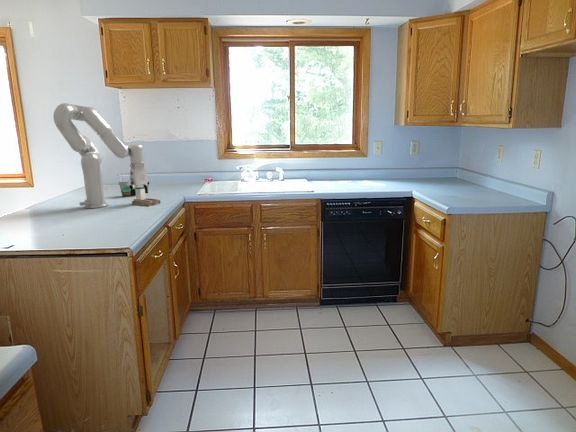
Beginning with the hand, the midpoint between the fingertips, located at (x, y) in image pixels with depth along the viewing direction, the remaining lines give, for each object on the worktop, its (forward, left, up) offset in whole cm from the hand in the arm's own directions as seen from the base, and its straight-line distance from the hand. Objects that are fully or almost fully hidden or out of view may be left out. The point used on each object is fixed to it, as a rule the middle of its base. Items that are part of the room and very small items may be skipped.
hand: (139, 194), depth 251 cm
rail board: (0, -4, -6) cm, 7 cm away
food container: (+15, +26, -6) cm, 31 cm away
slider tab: (0, 0, -3) cm, 3 cm away
